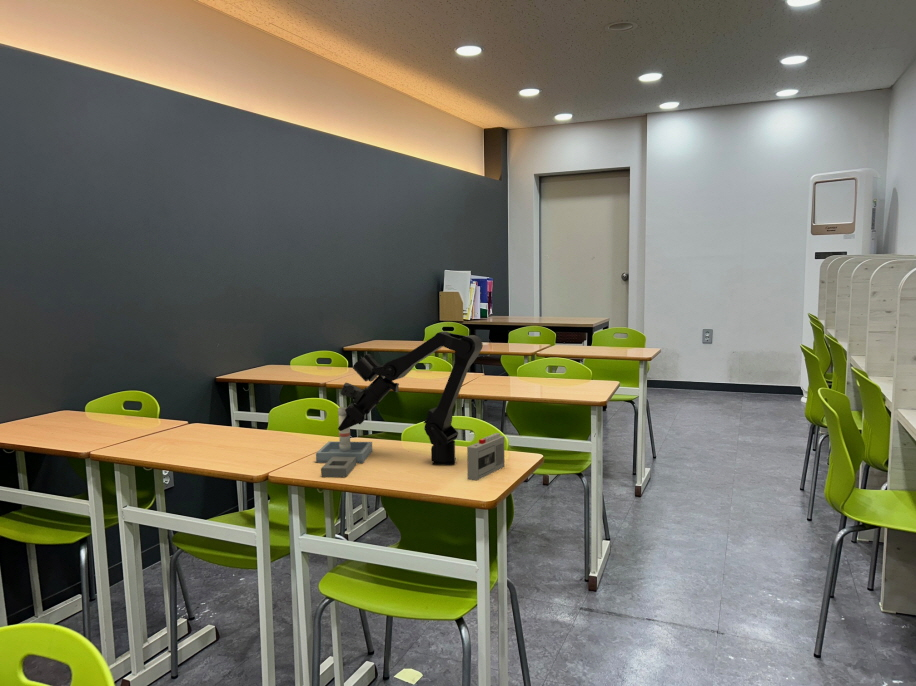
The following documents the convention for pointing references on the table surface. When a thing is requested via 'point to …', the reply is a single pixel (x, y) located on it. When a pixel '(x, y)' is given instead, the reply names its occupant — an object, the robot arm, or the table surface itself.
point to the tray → (332, 450)
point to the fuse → (344, 432)
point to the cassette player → (485, 456)
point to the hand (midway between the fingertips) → (340, 428)
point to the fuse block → (338, 467)
